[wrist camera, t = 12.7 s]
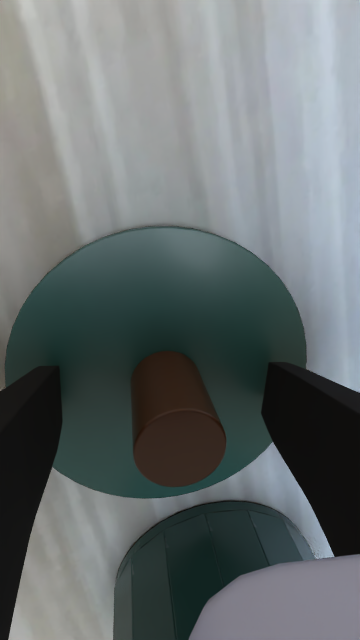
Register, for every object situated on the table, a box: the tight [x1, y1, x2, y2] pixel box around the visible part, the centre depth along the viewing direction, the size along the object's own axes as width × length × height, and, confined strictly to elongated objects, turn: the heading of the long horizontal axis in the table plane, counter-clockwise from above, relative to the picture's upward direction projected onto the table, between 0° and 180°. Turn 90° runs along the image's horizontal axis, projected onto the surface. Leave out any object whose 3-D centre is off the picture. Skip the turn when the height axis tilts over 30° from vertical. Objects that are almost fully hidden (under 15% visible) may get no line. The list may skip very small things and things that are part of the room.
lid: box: [5, 226, 306, 498], centre depth 11 cm, size 10×10×4 cm
